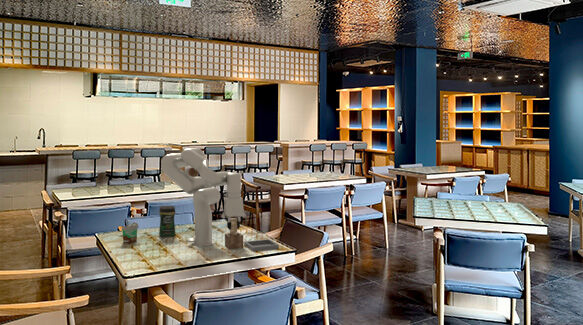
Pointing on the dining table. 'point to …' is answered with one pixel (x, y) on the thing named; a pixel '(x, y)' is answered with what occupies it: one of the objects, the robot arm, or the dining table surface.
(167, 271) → the dining table surface
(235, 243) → the brown wooden cube
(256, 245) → the charcoal tray
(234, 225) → the beech pin
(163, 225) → the coffee jar
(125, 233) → the food container
